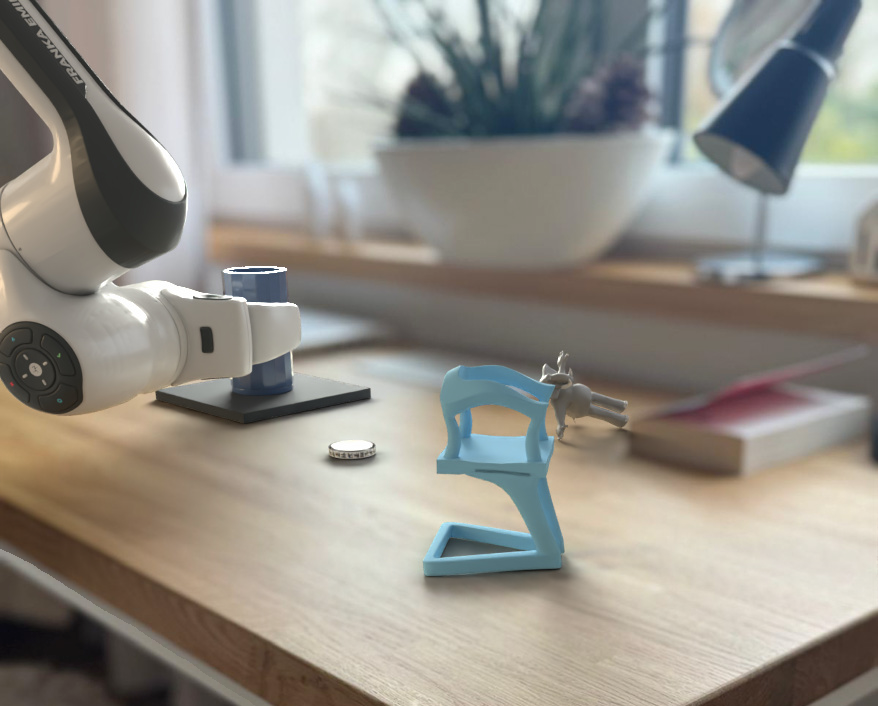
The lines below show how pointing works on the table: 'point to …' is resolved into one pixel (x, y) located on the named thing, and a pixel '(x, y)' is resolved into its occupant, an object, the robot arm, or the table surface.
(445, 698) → the table surface
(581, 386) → the grey figurine
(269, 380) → the cup
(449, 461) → the chair
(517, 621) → the table surface
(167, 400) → the mat
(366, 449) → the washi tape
